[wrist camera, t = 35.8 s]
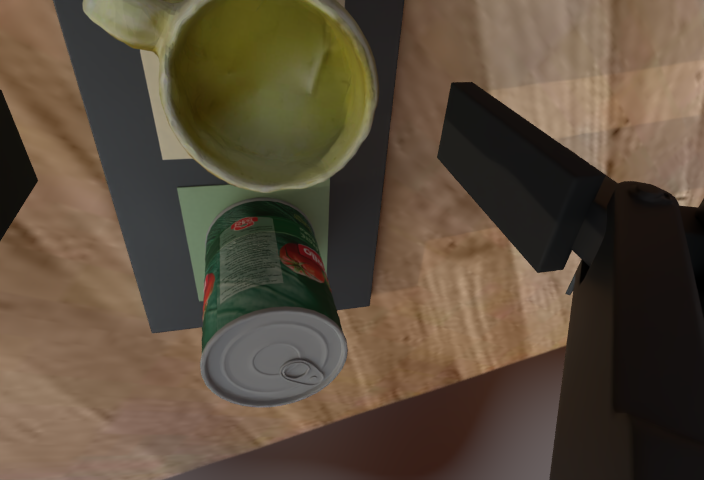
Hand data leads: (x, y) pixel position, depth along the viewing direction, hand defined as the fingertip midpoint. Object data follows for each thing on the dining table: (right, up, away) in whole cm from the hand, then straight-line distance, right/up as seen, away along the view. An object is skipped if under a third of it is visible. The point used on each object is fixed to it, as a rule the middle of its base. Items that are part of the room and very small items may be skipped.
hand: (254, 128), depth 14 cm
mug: (-3, +8, +10) cm, 13 cm away
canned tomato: (-4, -4, +19) cm, 19 cm away
